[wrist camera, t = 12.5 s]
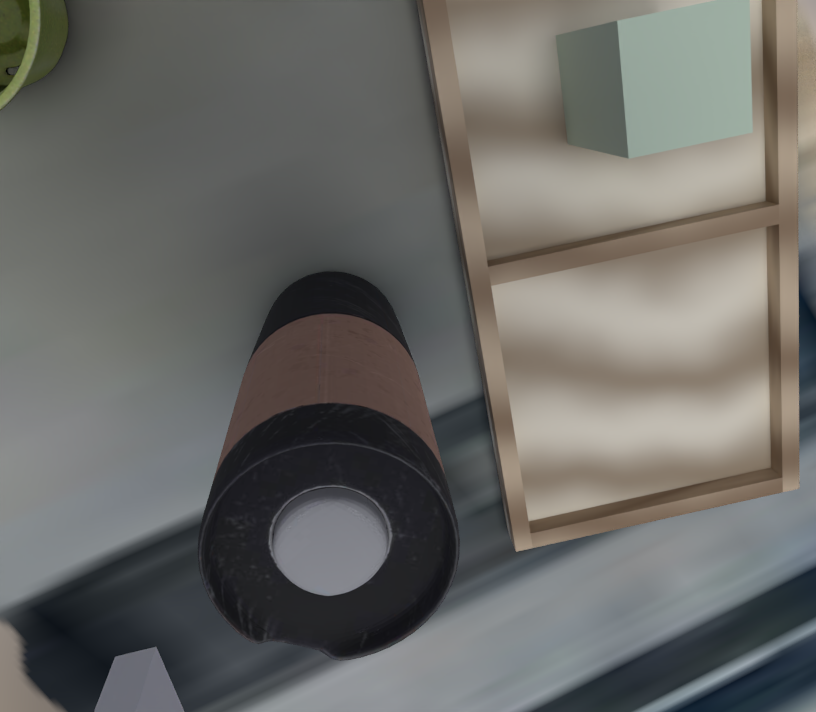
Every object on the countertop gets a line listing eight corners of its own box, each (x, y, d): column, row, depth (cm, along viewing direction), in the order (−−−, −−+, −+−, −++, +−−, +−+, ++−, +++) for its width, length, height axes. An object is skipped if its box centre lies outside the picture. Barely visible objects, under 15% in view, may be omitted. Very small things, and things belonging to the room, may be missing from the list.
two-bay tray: (402, -81, 33) (407, -92, 31) (768, -156, 33) (796, -172, 31) (507, 530, 45) (515, 551, 43) (778, 470, 45) (799, 488, 43)
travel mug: (363, 239, 38) (392, 388, 19) (426, 363, 40) (506, 599, 22) (233, 306, 38) (136, 513, 20) (303, 423, 41) (278, 704, 22)
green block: (555, 35, 34) (617, 20, 27) (659, 13, 34) (749, -7, 27) (567, 144, 36) (628, 158, 29) (666, 123, 36) (752, 132, 29)
